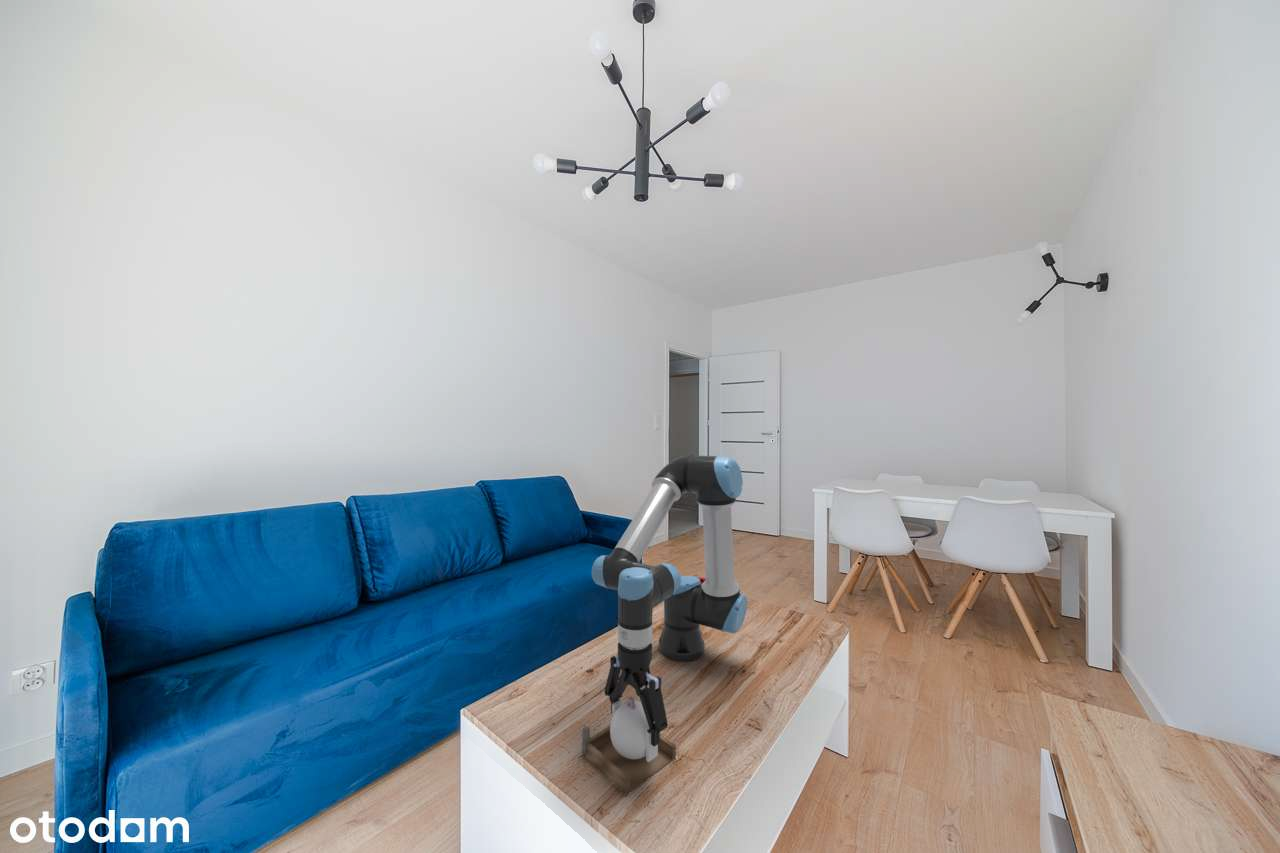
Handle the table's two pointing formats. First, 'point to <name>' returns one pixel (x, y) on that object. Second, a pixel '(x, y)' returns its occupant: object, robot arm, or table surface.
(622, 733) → the ornament
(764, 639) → the table surface
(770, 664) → the table surface
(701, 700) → the table surface
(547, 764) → the table surface
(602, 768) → the keeper
